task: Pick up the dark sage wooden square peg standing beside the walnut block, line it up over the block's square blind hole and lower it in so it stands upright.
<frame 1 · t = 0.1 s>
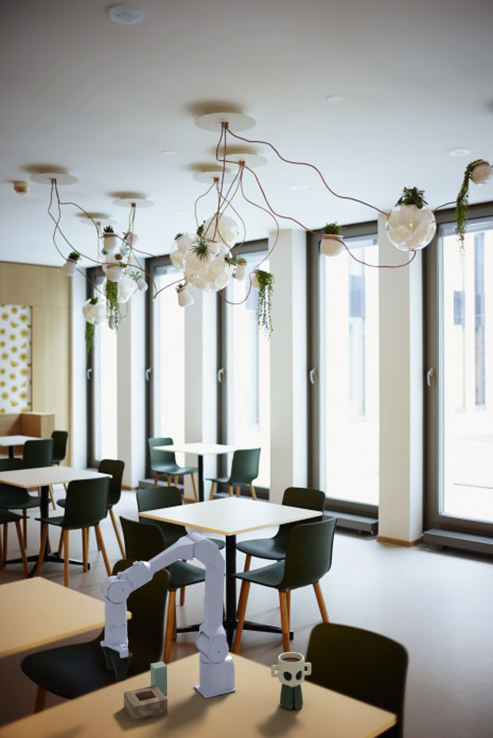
hand: (116, 674, 191), 10 cm above the table, tool pointing down, fingers open, 7 cm apart
character mug: (291, 706, 194), on the table
hole block: (145, 710, 192), on the table
square peg: (159, 693, 202), on the table
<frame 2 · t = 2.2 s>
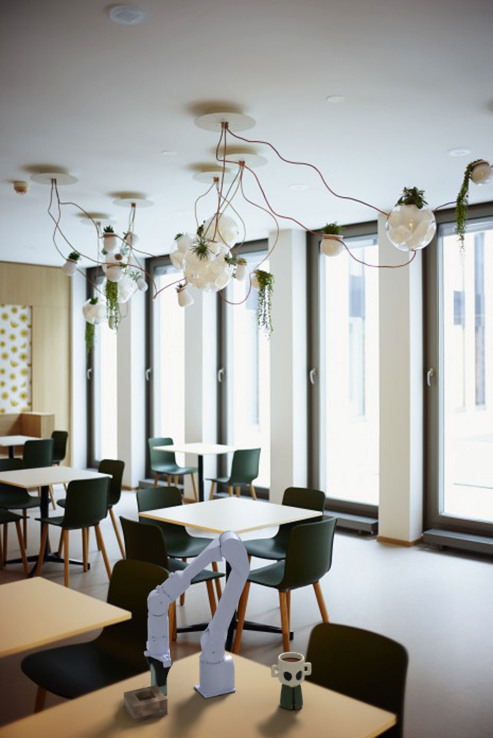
hand: (158, 683, 202), 3 cm above the table, tool pointing down, fingers closed on square peg, 3 cm apart
square peg: (159, 693, 202), on the table, touching gripper
everything else where it was.
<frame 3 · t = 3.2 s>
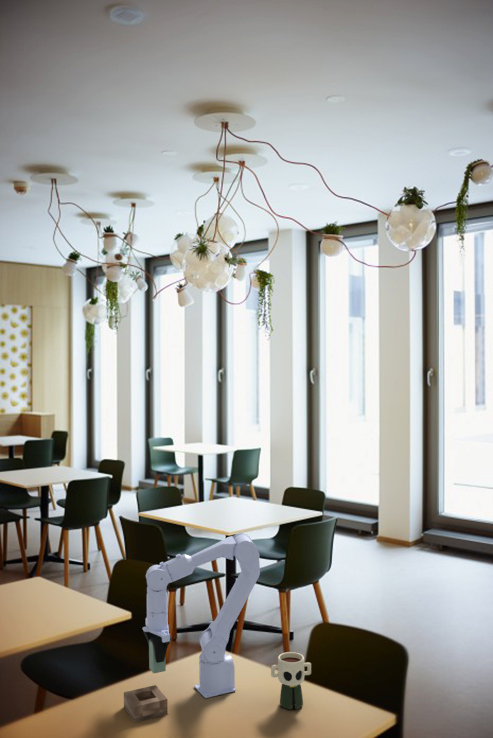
hand: (157, 658, 201), 10 cm above the table, tool pointing down, fingers closed on square peg, 3 cm apart
square peg: (157, 669, 201), point 7 cm above the table, touching gripper
everything else where it was.
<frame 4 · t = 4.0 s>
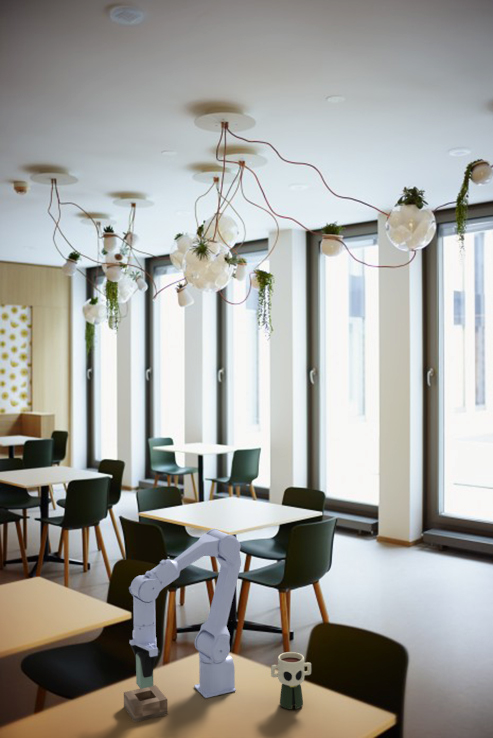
hand: (145, 673, 192), 10 cm above the table, tool pointing down, fingers closed on square peg, 3 cm apart
square peg: (144, 684, 192), point 7 cm above the table, touching gripper
everything else where it was.
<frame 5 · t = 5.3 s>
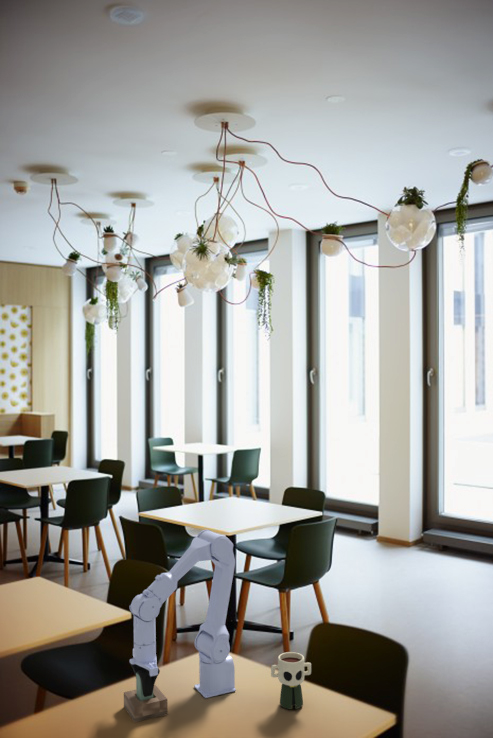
hand: (145, 692, 192), 5 cm above the table, tool pointing down, fingers closed on square peg, 3 cm apart
square peg: (144, 703, 192), point 2 cm above the table, touching gripper
everything else where it was.
when the fingers open (5 cm above the table, at t = 6.2 s): square peg stays where it is, resting on hole block.
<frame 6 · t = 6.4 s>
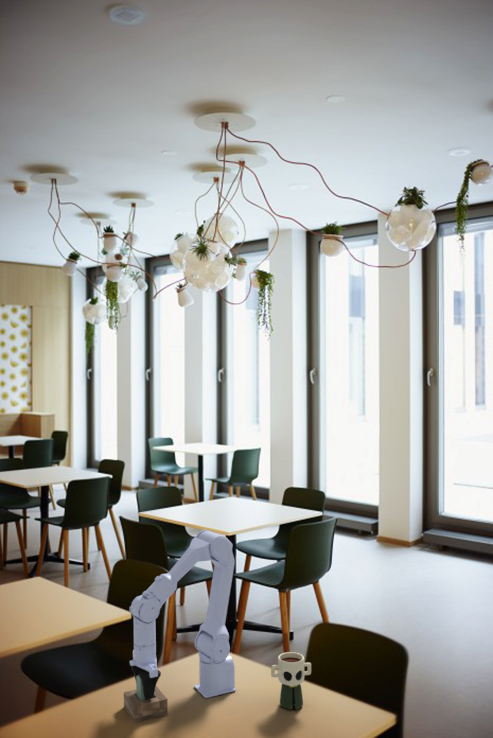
hand: (145, 693, 192), 5 cm above the table, tool pointing down, fingers open, 5 cm apart
square peg: (145, 706, 192), point 1 cm above the table, touching hole block
everything else where it was.
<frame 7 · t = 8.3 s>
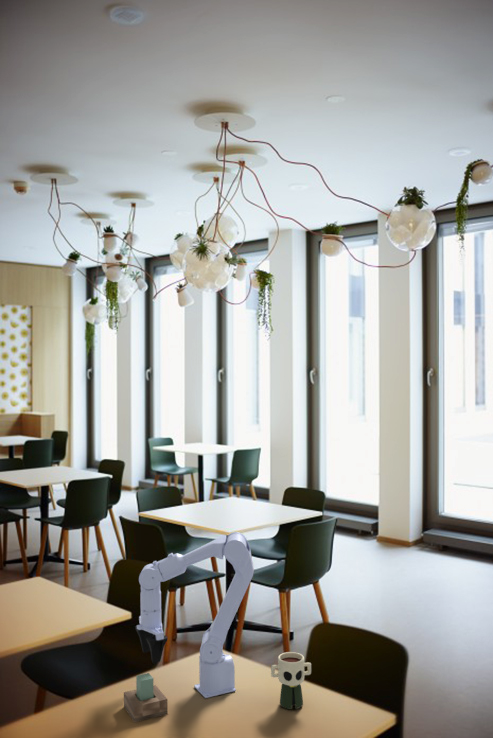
hand: (151, 656, 204), 9 cm above the table, tool pointing down, fingers open, 7 cm apart
nothing on the table moved.
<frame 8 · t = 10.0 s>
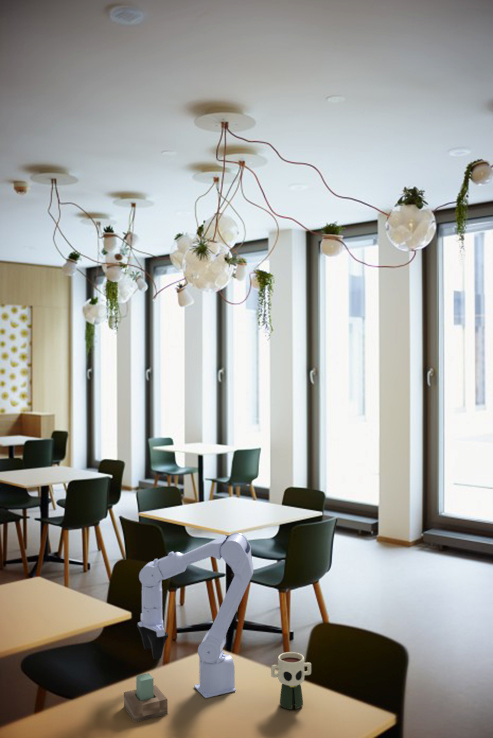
hand: (152, 653, 206), 9 cm above the table, tool pointing down, fingers open, 7 cm apart
nothing on the table moved.
at the end: square peg 0.1 cm off-centre on the hole block, point 1.0 cm above the hole block's base; square peg tilted 0°; the gripper is holding nothing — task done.
